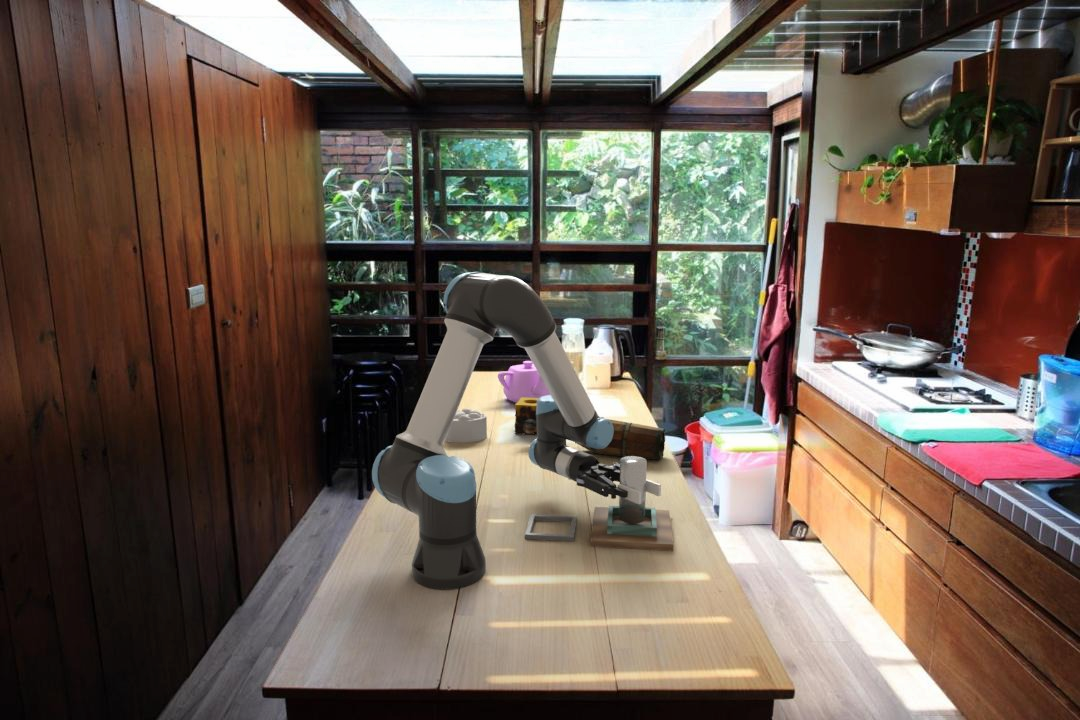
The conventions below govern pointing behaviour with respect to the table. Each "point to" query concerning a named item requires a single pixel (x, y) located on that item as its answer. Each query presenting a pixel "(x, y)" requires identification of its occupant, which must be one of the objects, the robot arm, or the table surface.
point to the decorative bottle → (625, 440)
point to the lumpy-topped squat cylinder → (467, 427)
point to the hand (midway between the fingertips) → (650, 494)
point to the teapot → (522, 382)
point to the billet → (636, 479)
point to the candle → (525, 413)
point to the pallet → (632, 530)
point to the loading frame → (551, 536)
